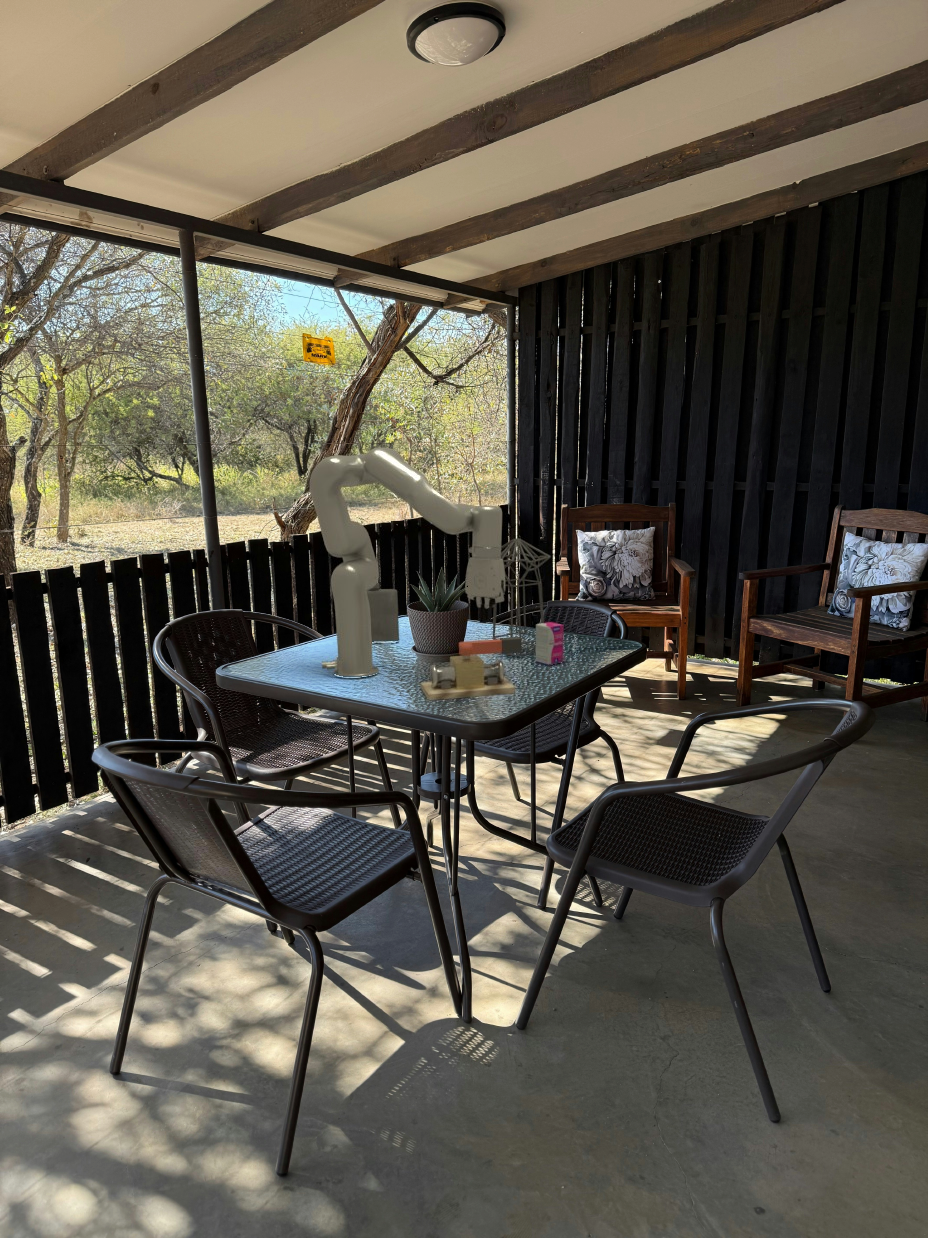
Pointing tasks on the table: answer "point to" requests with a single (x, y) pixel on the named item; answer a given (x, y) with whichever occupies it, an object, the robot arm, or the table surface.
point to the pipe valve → (467, 673)
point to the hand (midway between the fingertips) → (484, 621)
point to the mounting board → (466, 690)
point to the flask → (383, 614)
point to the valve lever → (491, 646)
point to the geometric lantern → (525, 545)
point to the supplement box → (549, 643)
